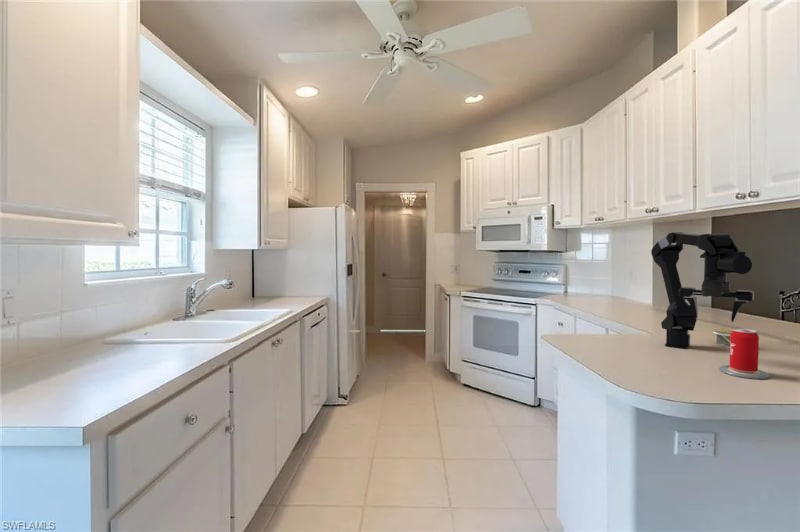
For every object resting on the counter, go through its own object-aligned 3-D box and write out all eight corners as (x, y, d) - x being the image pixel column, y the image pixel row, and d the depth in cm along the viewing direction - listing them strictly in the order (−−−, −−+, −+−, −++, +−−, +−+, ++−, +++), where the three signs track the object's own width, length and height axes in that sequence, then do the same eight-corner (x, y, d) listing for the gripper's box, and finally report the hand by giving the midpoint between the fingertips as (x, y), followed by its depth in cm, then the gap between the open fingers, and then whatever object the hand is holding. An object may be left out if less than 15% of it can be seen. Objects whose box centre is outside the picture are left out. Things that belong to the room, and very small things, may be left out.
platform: (758, 355, 134) (759, 336, 133) (694, 345, 148) (695, 328, 147) (765, 349, 141) (765, 331, 141) (703, 340, 155) (704, 323, 155)
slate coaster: (716, 373, 114) (716, 371, 114) (721, 365, 122) (722, 363, 122) (768, 382, 106) (768, 379, 106) (770, 372, 114) (770, 370, 114)
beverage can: (746, 367, 117) (747, 327, 116) (763, 374, 111) (765, 332, 110) (723, 367, 117) (725, 327, 117) (739, 373, 111) (741, 332, 111)
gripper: (675, 272, 128) (673, 319, 128) (751, 274, 114) (749, 327, 115) (682, 270, 135) (681, 315, 136) (754, 272, 122) (753, 322, 123)
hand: (713, 319), depth 127 cm, fingers open, 9 cm apart
